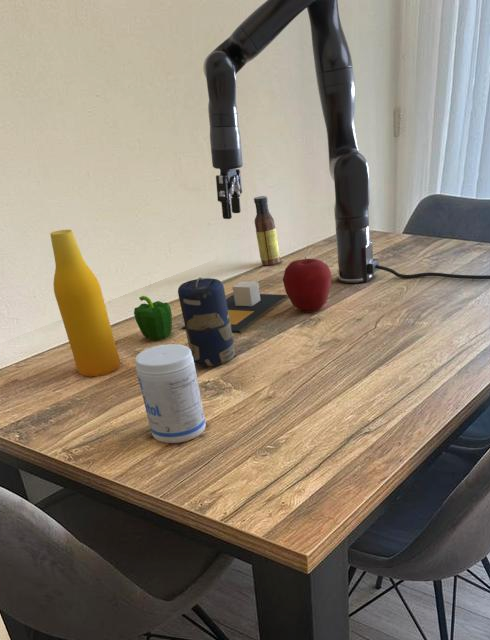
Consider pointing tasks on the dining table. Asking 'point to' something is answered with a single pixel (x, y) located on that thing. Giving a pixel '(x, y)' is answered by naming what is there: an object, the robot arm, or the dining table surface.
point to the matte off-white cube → (246, 293)
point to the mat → (249, 310)
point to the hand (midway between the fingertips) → (232, 215)
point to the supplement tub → (171, 393)
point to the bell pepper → (154, 319)
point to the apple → (307, 284)
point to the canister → (206, 321)
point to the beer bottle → (82, 309)
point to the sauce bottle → (266, 233)
